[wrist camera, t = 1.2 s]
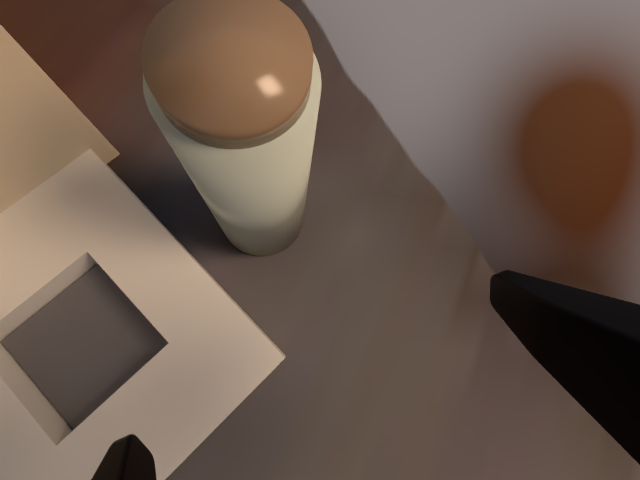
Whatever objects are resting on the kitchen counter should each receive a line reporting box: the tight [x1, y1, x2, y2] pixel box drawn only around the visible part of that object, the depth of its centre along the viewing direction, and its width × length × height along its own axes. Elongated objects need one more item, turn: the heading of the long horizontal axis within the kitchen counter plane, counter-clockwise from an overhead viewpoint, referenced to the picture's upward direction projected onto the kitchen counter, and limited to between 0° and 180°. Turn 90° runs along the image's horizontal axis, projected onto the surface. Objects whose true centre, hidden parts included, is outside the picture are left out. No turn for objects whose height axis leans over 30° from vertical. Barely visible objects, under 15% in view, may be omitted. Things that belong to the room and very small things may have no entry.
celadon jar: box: [141, 0, 321, 256], centre depth 17 cm, size 5×5×14 cm
